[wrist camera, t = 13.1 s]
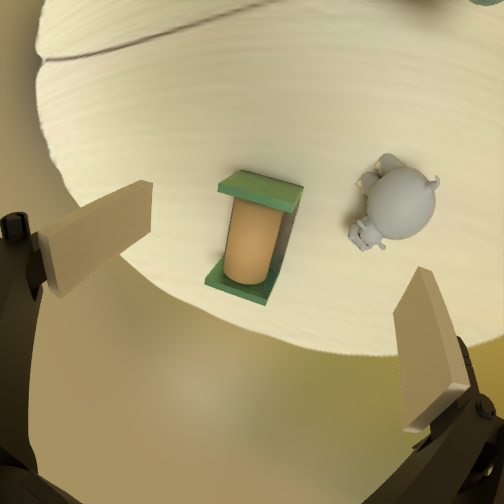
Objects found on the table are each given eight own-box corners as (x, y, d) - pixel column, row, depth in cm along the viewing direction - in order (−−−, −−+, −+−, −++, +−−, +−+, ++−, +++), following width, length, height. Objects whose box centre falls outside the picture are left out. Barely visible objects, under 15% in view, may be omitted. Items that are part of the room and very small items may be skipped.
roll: (243, 187, 44) (229, 201, 38) (288, 199, 44) (281, 215, 38) (230, 254, 50) (216, 276, 44) (270, 266, 50) (261, 290, 44)
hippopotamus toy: (329, 207, 44) (324, 230, 35) (397, 139, 36) (412, 146, 28) (375, 253, 44) (380, 286, 36) (443, 193, 37) (465, 213, 29)
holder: (241, 169, 45) (218, 183, 37) (303, 187, 43) (294, 204, 36) (225, 257, 53) (204, 284, 45) (278, 275, 51) (265, 306, 44)
